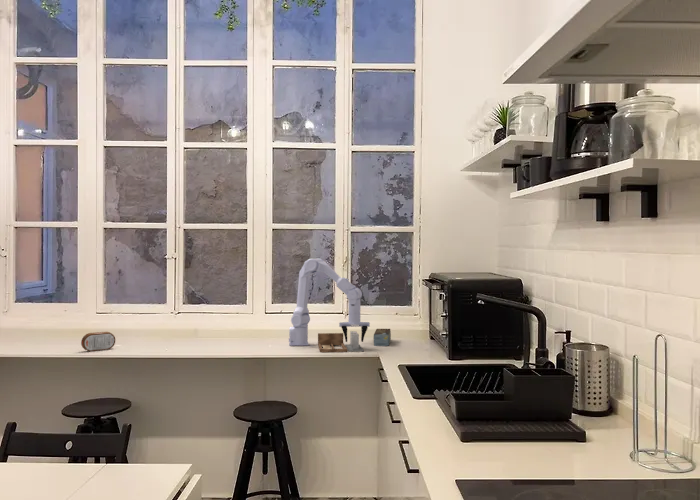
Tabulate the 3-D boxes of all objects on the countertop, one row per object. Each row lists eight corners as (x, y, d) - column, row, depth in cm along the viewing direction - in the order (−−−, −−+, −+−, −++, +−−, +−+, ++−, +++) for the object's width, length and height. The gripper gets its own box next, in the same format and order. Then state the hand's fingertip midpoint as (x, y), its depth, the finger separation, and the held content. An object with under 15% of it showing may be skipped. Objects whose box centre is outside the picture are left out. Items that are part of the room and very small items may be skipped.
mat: (349, 351, 278) (349, 350, 278) (345, 345, 295) (345, 344, 295) (363, 351, 278) (363, 350, 278) (359, 345, 296) (359, 344, 296)
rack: (320, 352, 276) (320, 339, 275) (317, 345, 295) (317, 333, 295) (347, 351, 277) (347, 339, 277) (343, 345, 296) (343, 333, 296)
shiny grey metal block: (352, 349, 281) (352, 334, 281) (350, 345, 292) (350, 331, 292) (358, 349, 281) (358, 334, 281) (355, 345, 292) (356, 331, 292)
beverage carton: (372, 346, 295) (372, 332, 295) (375, 340, 314) (375, 327, 314) (389, 346, 294) (389, 333, 294) (391, 340, 313) (391, 328, 313)
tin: (113, 348, 284) (113, 330, 284) (116, 349, 282) (116, 331, 282) (80, 351, 274) (80, 333, 274) (83, 352, 272) (83, 334, 272)
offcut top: (323, 351, 279) (323, 349, 279) (322, 346, 292) (322, 345, 292) (331, 351, 279) (331, 349, 279) (329, 346, 292) (329, 344, 292)
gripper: (340, 314, 282) (340, 343, 282) (370, 314, 284) (370, 342, 284) (338, 312, 289) (338, 340, 289) (368, 312, 291) (368, 340, 291)
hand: (354, 341), depth 287 cm, fingers open, 7 cm apart
